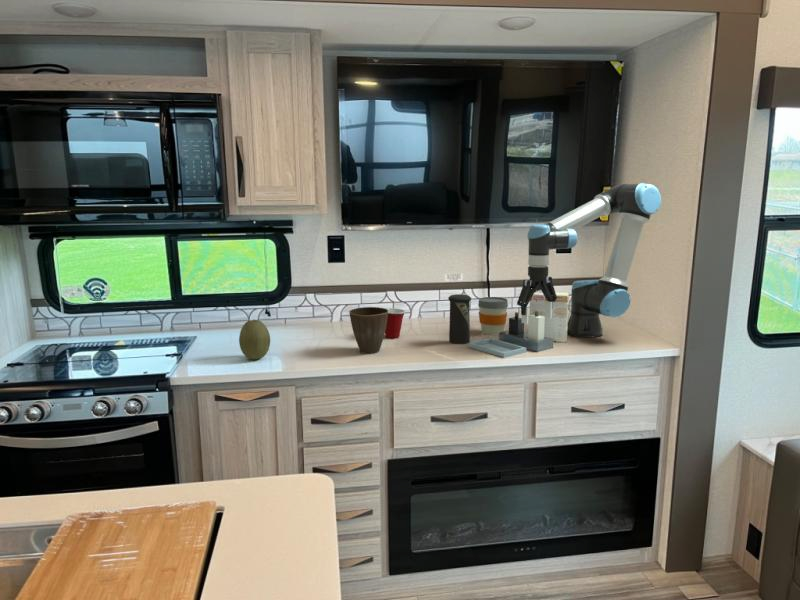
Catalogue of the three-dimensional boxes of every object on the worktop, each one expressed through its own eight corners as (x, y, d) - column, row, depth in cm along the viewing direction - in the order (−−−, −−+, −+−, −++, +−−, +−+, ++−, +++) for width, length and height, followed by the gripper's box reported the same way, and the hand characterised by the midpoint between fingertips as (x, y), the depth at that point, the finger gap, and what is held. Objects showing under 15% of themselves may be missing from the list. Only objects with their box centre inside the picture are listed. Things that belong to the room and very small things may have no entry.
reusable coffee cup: (485, 338, 248) (486, 303, 245) (472, 331, 260) (473, 297, 257) (512, 335, 252) (513, 301, 249) (498, 329, 263) (499, 296, 261)
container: (464, 347, 234) (465, 297, 231) (444, 344, 239) (444, 295, 235) (473, 342, 242) (474, 294, 238) (454, 339, 246) (454, 292, 243)
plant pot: (375, 358, 220) (375, 316, 217) (342, 353, 227) (341, 312, 224) (395, 349, 233) (395, 309, 230) (363, 344, 240) (362, 305, 237)
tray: (490, 344, 239) (490, 337, 238) (526, 354, 224) (526, 347, 223) (468, 349, 232) (468, 342, 231) (504, 359, 217) (504, 353, 216)
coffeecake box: (567, 338, 246) (569, 292, 243) (565, 342, 240) (568, 295, 236) (530, 335, 251) (532, 290, 248) (528, 340, 245) (529, 293, 241)
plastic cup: (409, 339, 248) (409, 311, 245) (384, 341, 245) (383, 312, 242) (401, 333, 258) (401, 306, 256) (377, 335, 255) (376, 307, 252)
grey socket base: (514, 339, 245) (515, 309, 243) (553, 350, 229) (554, 317, 227) (498, 343, 240) (499, 312, 237) (537, 354, 224) (538, 320, 222)
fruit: (276, 355, 225) (274, 317, 222) (262, 364, 215) (260, 323, 212) (249, 353, 228) (247, 315, 225) (234, 362, 217) (231, 322, 215)
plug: (543, 347, 230) (544, 311, 227) (537, 348, 227) (538, 312, 225) (533, 344, 233) (534, 309, 231) (527, 345, 231) (528, 310, 229)
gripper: (551, 261, 235) (550, 314, 239) (508, 268, 220) (507, 323, 224) (567, 263, 229) (565, 317, 233) (523, 270, 214) (522, 327, 218)
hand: (536, 320), depth 229 cm, fingers open, 13 cm apart
